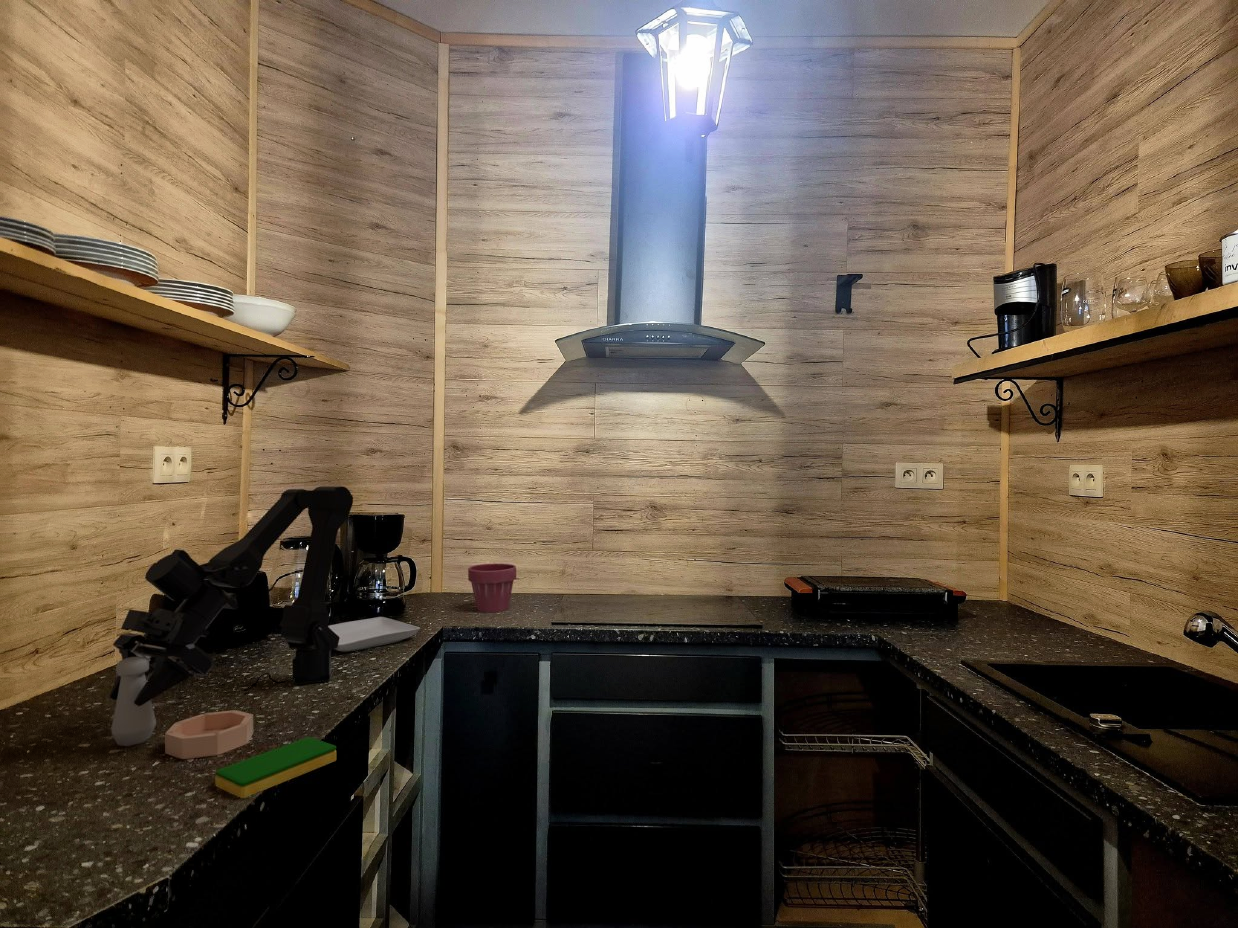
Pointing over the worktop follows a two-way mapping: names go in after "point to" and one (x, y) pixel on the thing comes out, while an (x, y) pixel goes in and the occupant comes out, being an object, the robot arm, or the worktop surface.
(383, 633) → the salad plate
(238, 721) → the pink octagonal dish
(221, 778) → the dish sponge
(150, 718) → the salt shaker
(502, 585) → the plant pot
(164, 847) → the worktop surface
